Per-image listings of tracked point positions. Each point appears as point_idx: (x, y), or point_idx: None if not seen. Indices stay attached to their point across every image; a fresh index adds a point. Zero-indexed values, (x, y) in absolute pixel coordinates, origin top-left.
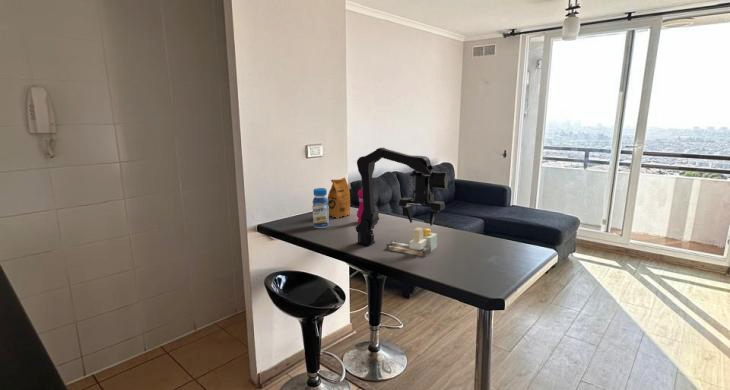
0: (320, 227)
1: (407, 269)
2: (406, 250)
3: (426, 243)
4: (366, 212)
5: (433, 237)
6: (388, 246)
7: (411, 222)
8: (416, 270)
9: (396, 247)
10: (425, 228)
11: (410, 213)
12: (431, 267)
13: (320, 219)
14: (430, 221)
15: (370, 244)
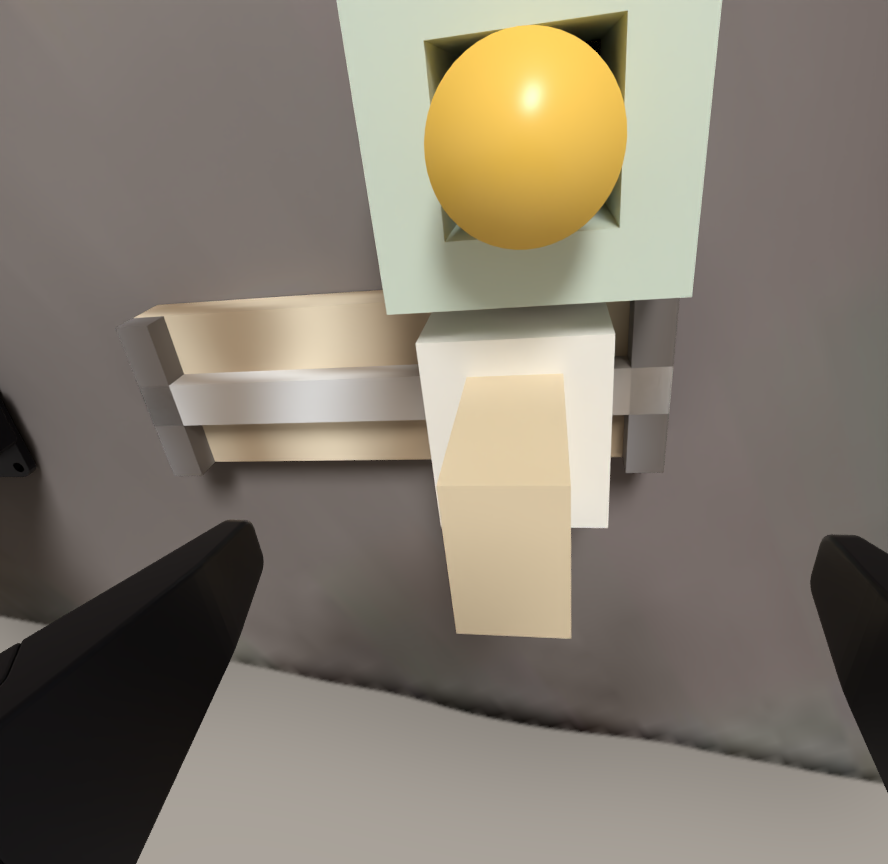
0: None
1: (624, 707)
2: (421, 454)
3: (608, 312)
4: None
5: (699, 157)
6: (210, 461)
7: (260, 548)
8: (695, 700)
9: (293, 452)
10: (453, 75)
11: (96, 787)
12: (800, 621)
13: None
14: (886, 743)
15: (14, 431)
